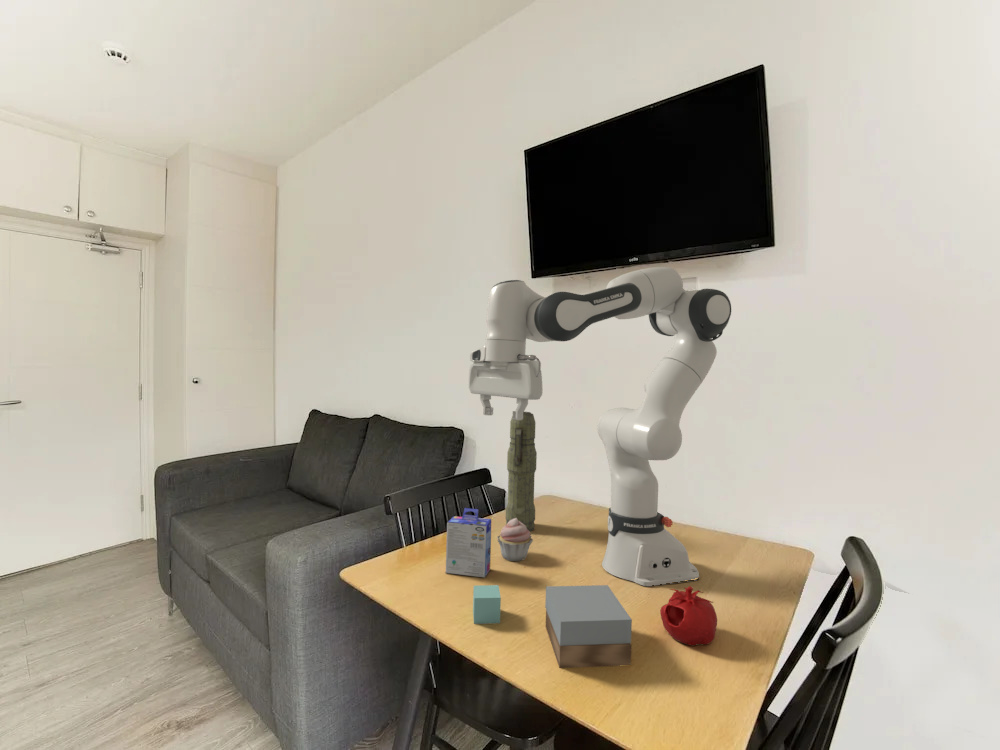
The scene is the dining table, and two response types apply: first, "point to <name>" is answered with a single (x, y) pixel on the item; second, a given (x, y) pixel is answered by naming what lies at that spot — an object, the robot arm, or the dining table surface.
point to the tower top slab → (587, 615)
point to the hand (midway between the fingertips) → (502, 417)
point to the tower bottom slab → (588, 652)
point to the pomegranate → (689, 617)
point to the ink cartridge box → (468, 545)
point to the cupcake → (514, 541)
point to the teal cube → (486, 604)
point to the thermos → (521, 471)
